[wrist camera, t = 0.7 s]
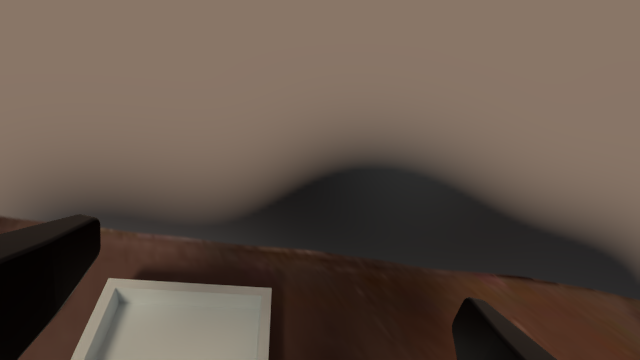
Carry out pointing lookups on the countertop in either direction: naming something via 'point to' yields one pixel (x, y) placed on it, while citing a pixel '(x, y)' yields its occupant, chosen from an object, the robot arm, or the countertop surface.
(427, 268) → the countertop surface
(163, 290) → the tray
